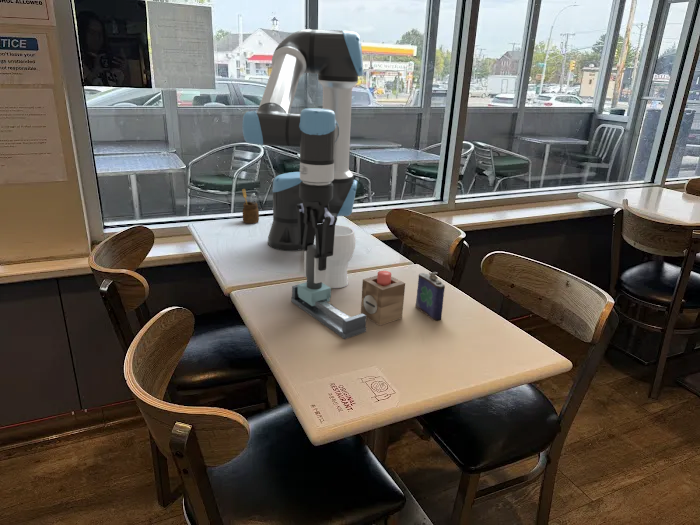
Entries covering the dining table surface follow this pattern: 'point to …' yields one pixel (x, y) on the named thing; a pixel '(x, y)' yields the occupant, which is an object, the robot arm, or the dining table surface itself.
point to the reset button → (384, 278)
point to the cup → (340, 257)
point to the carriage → (310, 289)
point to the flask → (430, 295)
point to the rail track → (325, 318)
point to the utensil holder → (250, 211)
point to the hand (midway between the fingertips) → (314, 278)
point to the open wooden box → (382, 300)
